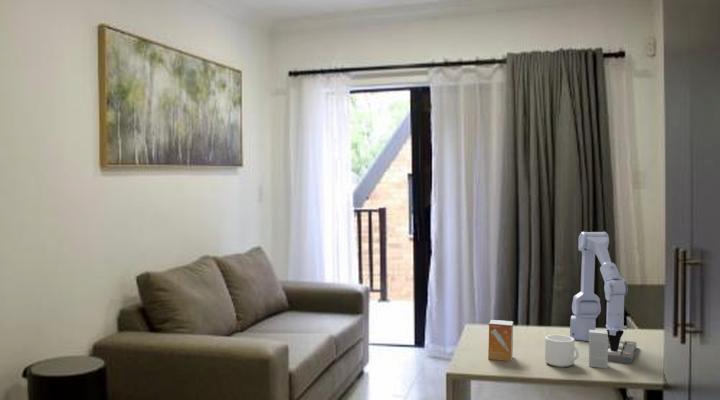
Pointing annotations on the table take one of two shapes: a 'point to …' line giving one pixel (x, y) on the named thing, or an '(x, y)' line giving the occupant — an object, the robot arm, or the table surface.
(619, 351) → the key outer
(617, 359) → the keypad frame
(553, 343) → the mug
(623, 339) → the key inner
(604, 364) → the skincare box
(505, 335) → the small box
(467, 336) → the table surface
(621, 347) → the key middle
